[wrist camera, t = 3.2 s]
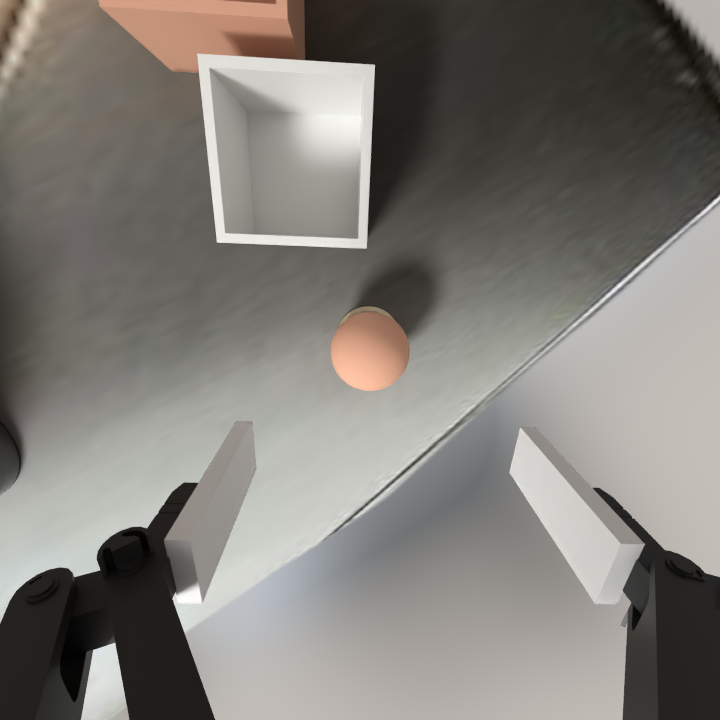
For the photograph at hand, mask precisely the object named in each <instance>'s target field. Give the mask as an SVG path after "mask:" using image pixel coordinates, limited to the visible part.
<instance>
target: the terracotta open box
mask: <svg viewBox="0 0 720 720" xmlns="http://www.w3.org/2000/svg"><path fill="white" fill-rule="evenodd" d="M99 5H100V7H101V8H102V9H103V10H104V11H106V12H107V13H108V14H109V15H110V16H111V17H112V18H113V19H115V20H116V21H117V22H118V23H119V24H120V25H121V26H122V27H123V28H125V29H126V30H127V31H128V32H129V33H130V34H131V35H132V36H133V37H135V38H136V39H137V40H138V41H139V42H140V43H141V44H142V45H144V46H145V47H146V48H147V49H148V50H149V51H150V52H151V53H152V54H154V55H155V56H156V57H157V58H158V59H159V60H160V61H161V62H163V63H164V64H165V65H166V66H167V67H168V68H169V69H170V70H171V71H177V72H194V73H199V66H198V57H197V54H212V55H228V56H243V57H259V58H275V59H291V60H305V10H304V0H99Z"/></svg>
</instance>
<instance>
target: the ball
mask: <svg viewBox="0 0 720 720" xmlns="http://www.w3.org/2000/svg"><path fill="white" fill-rule="evenodd" d="M331 359H332V363H333V366H334V368H335V370H336V372H337V373H338V375H339V376H340V377H341V378H342V379H343V380H344V381H345V382H346V383H348V384H349V385H351V386H353V387H355V388H357V389H361V390H368V391H372V390H379V389H383V388H385V387H388V386H389V385H391V384H393V383H394V382H395V381H396V380H398V379H399V377H400V376H401V375H402V374H403V372H404V370H405V368H406V366H407V363H408V360H409V343H408V339H407V336H406V334H405V332H404V331H403V329H402V328H401V326H400V325H399V324H398V323H397V322H396V321H395V320H393V319H392V318H390V317H388V316H386V315H384V314H381V313H376V312H364V313H360V314H356V315H354V316H352V317H350V318H349V319H347V320H346V321H345V322H343V323H342V324H341V325H340V327H339V328H338V329H337V331H336V333H335V335H334V337H333V340H332V344H331Z"/></svg>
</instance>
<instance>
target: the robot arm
mask: <svg viewBox="0 0 720 720" xmlns="http://www.w3.org/2000/svg"><path fill="white" fill-rule="evenodd" d="M255 471H256V458H255V447H254V436H253V424H252V422H249V421H236V422H235V424H234V426H233V427H232V429H231V430H230V432H229V434H228V435H227V437H226V439H225V440H224V442H223V444H222V445H221V447H220V449H219V450H218V452H217V454H216V455H215V457H214V458H213V460H212V462H211V463H210V465H209V467H208V468H207V470H206V472H205V473H204V475H203V477H202V478H201V480H200V482H199V483H183V484H182V485H180V486H179V487H178V488H177V489H175V490H174V491H173V492H172V493H171V495H170V496H169V497H168V499H167V500H166V502H165V504H164V505H163V506H162V508H161V509H160V511H159V512H158V514H157V515H156V516H155V518H154V519H153V521H152V522H151V524H150V525H149V527H148V528H147V529H146V528H143V527H131V528H128V529H125V530H122V531H120V532H118V533H116V534H115V535H113V536H111V537H110V538H109V539H108V540H107V541H105V542H104V543H103V544H102V546H101V547H100V549H99V550H98V554H97V561H98V564H99V567H100V571H97V572H93V573H89V574H85V575H82V576H78V577H74V576H73V573H72V572H71V571H70V570H69V569H67V568H55V569H50V570H47V571H45V572H43V573H40V574H38V575H36V576H35V577H33V578H32V579H30V580H29V581H27V582H26V583H25V584H23V585H22V586H21V587H20V588H19V589H18V590H17V591H16V592H15V594H14V595H13V597H12V599H11V600H10V602H9V604H8V607H7V609H6V612H5V614H4V616H3V619H2V621H1V623H0V720H81V715H82V710H83V704H84V698H85V693H86V687H87V681H88V676H89V670H90V664H91V659H92V653H93V650H94V649H97V648H100V647H103V646H106V645H109V644H112V643H116V649H117V654H118V659H119V665H120V670H121V676H122V681H123V687H124V692H125V697H126V703H127V708H128V713H129V719H130V720H215V718H214V715H213V713H212V710H211V707H210V704H209V701H208V698H207V696H206V693H205V690H204V688H203V684H202V682H201V679H200V676H199V673H198V671H197V667H196V665H195V662H194V659H193V656H192V654H191V651H190V648H189V645H188V642H187V639H186V636H185V634H184V631H183V628H182V625H181V622H180V620H179V617H178V614H177V611H176V608H175V605H174V603H173V600H172V598H173V596H174V594H175V592H176V595H177V599H178V603H203V600H204V598H205V595H206V593H207V590H208V588H209V585H210V583H211V580H212V578H213V575H214V573H215V570H216V568H217V565H218V563H219V560H220V558H221V555H222V553H223V550H224V548H225V545H226V543H227V540H228V538H229V535H230V533H231V530H232V528H233V526H234V523H235V521H236V518H237V516H238V513H239V511H240V508H241V506H242V503H243V501H244V498H245V496H246V493H247V491H248V488H249V486H250V483H251V481H252V478H253V476H254V473H255ZM18 472H19V456H18V452H17V449H16V447H15V444H14V442H13V441H12V439H11V437H10V436H9V434H8V433H7V431H6V430H5V429H4V428H3V426H2V425H1V424H0V495H1V494H3V493H4V492H5V491H6V490H8V489H9V488H10V487H11V486H12V485H13V483H14V482H15V480H16V478H17V476H18ZM510 474H511V475H512V477H513V479H514V480H515V482H516V483H517V485H518V486H519V488H520V489H521V491H522V492H523V494H524V495H525V497H526V499H527V500H528V502H529V503H530V505H531V506H532V508H533V509H534V511H535V512H536V514H537V515H538V517H539V518H540V520H541V522H542V523H543V525H544V526H545V528H546V529H547V531H548V532H549V534H550V535H551V537H552V538H553V540H554V541H555V543H556V545H557V546H558V547H559V549H560V551H561V552H562V554H563V555H564V557H565V558H566V560H567V561H568V563H569V564H570V566H571V567H572V569H573V570H574V572H575V574H576V575H577V577H578V578H579V580H580V581H581V583H582V584H583V586H584V587H585V589H586V591H587V592H588V594H589V595H590V597H591V598H592V600H593V601H594V603H595V604H617V603H618V601H619V599H620V597H621V595H622V593H623V592H624V593H625V594H626V596H627V597H628V598H629V600H630V601H631V602H632V603H631V605H630V607H629V609H628V611H627V613H626V615H625V617H624V619H623V621H622V624H621V625H622V626H623V627H625V626H626V624H627V623H628V624H627V646H626V664H625V685H624V705H623V720H720V577H717V576H713V575H709V574H706V573H704V571H703V570H702V569H701V568H700V567H699V566H697V565H696V564H695V563H693V562H692V561H691V560H689V559H687V558H685V557H684V556H682V555H680V554H677V553H674V552H671V551H665V550H664V549H663V548H662V547H661V546H660V545H659V544H658V543H657V542H656V541H655V540H654V539H653V538H652V537H651V536H650V535H649V534H648V532H646V530H644V528H643V527H642V526H641V525H639V523H638V522H637V521H635V519H632V516H631V515H630V514H629V513H628V512H627V511H626V510H624V509H623V507H622V506H621V505H620V504H619V503H618V502H617V501H616V500H615V499H614V498H613V497H611V496H610V495H609V494H607V493H606V492H604V491H603V490H601V489H600V488H592V487H591V486H590V485H589V484H588V483H587V482H586V481H585V480H584V479H583V478H582V477H581V475H579V473H578V472H577V471H576V470H575V469H574V468H573V467H572V466H571V465H570V464H569V463H568V462H567V460H565V458H564V457H563V456H562V455H561V454H560V453H559V452H558V451H557V450H556V449H555V448H554V447H553V445H552V444H551V443H550V442H549V441H548V440H547V439H546V438H545V437H544V436H543V435H542V434H541V433H540V432H539V431H538V429H537V428H536V427H520V431H519V436H518V439H517V443H516V447H515V452H514V456H513V460H512V464H511V468H510Z"/></svg>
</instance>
